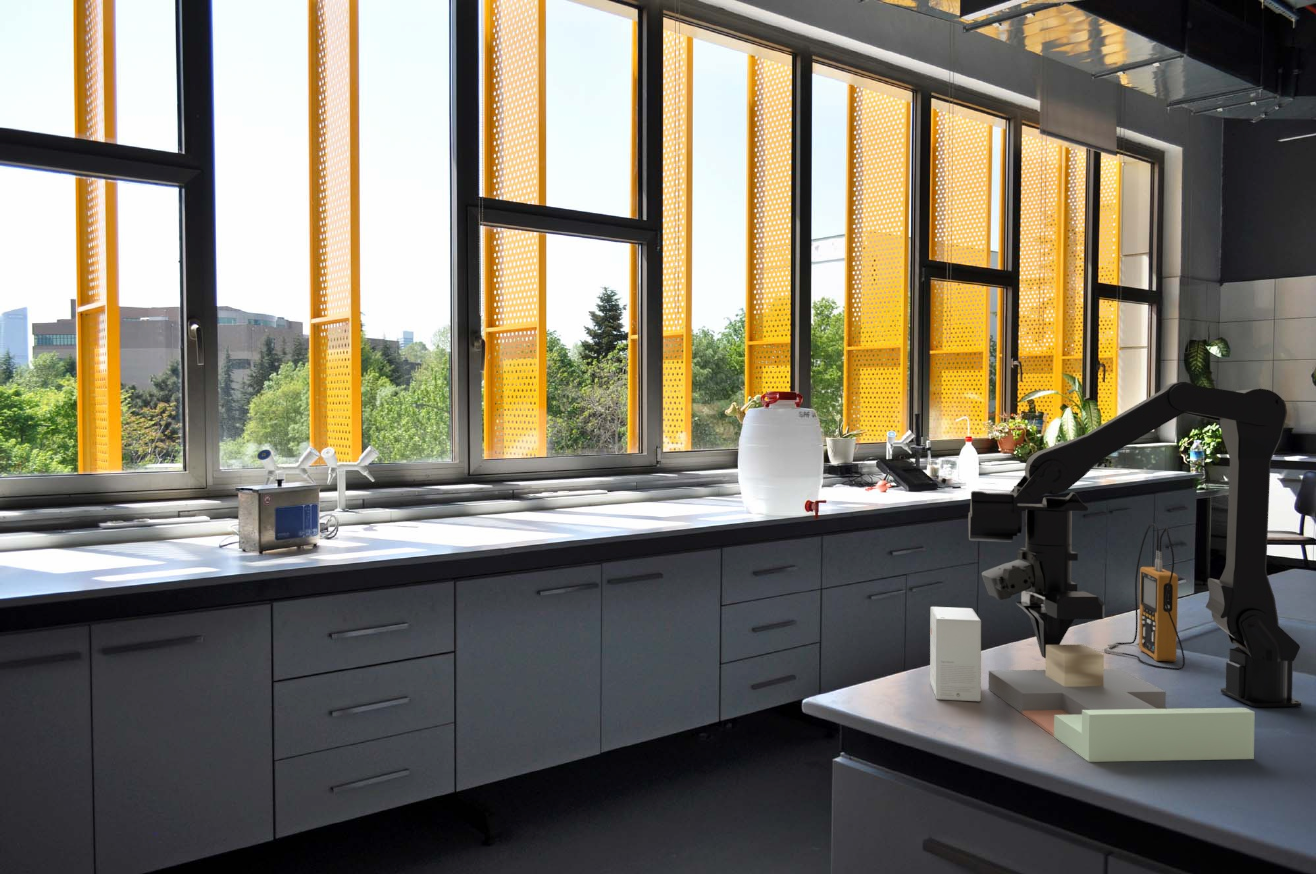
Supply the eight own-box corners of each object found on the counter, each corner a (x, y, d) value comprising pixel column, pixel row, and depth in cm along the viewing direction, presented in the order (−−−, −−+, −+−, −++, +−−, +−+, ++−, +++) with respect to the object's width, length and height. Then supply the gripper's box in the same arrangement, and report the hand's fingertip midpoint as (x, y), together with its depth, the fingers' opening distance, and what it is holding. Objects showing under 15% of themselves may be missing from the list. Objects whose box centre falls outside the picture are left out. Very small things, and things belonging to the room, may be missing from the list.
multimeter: (1081, 642, 148) (1083, 518, 147) (1148, 645, 146) (1150, 519, 146) (1114, 667, 133) (1116, 529, 132) (1188, 670, 132) (1190, 531, 131)
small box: (981, 703, 116) (982, 620, 116) (935, 700, 117) (935, 618, 117) (972, 685, 124) (973, 607, 124) (929, 682, 125) (930, 605, 125)
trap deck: (1120, 687, 123) (1120, 650, 123) (1253, 758, 98) (1254, 712, 97) (988, 689, 122) (988, 651, 122) (1088, 761, 97) (1089, 714, 96)
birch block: (1082, 674, 120) (1083, 644, 120) (1103, 686, 115) (1103, 654, 115) (1045, 675, 120) (1045, 644, 120) (1064, 686, 115) (1064, 654, 115)
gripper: (963, 534, 133) (962, 641, 134) (1020, 554, 115) (1019, 678, 115) (1038, 534, 134) (1037, 640, 134) (1107, 553, 115) (1106, 677, 116)
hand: (1046, 657), depth 125 cm, fingers closed
